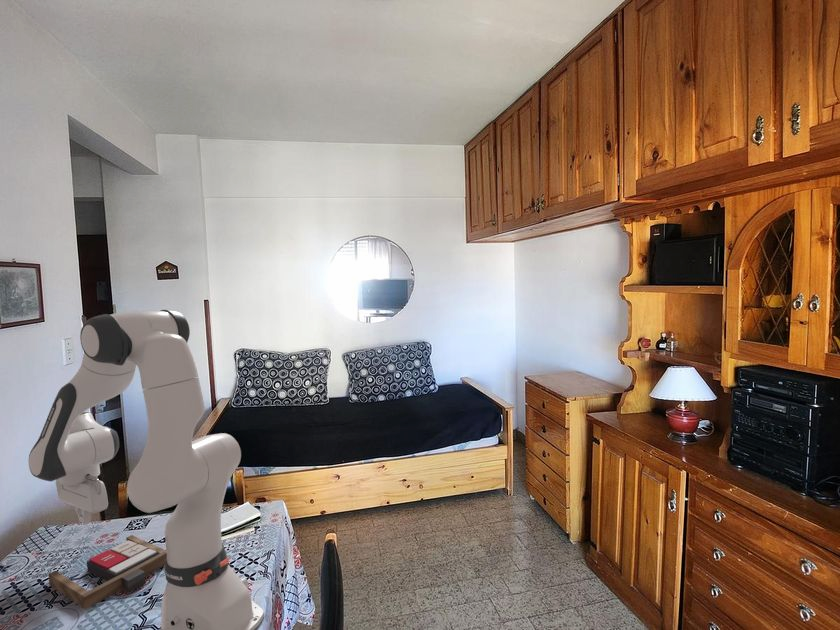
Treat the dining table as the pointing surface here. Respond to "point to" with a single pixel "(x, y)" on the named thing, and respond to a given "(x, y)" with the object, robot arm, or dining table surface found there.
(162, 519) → the dining table surface
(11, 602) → the dining table surface
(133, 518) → the dining table surface
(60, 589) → the cradle
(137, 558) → the red and white box
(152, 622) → the dining table surface
